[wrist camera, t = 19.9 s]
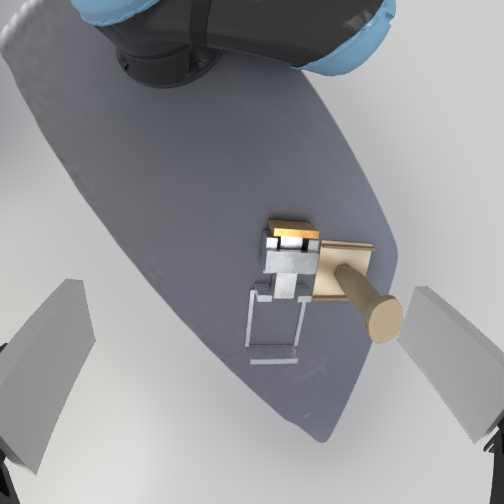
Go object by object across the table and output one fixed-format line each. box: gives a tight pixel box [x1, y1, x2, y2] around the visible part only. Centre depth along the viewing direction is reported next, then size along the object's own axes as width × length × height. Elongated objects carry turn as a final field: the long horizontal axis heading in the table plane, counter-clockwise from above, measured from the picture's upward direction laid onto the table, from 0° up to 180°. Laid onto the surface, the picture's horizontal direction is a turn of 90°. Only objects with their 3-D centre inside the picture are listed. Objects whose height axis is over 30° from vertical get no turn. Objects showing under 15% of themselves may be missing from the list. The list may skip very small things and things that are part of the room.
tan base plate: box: [311, 240, 375, 301], centre depth 45 cm, size 10×9×2 cm
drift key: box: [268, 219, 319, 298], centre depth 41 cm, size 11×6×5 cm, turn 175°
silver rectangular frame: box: [245, 283, 312, 364], centre depth 46 cm, size 13×9×4 cm
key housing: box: [260, 230, 319, 274], centre depth 41 cm, size 5×7×5 cm
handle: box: [334, 263, 403, 344], centre depth 38 cm, size 5×6×15 cm
